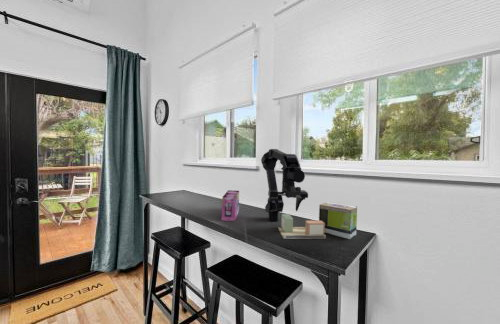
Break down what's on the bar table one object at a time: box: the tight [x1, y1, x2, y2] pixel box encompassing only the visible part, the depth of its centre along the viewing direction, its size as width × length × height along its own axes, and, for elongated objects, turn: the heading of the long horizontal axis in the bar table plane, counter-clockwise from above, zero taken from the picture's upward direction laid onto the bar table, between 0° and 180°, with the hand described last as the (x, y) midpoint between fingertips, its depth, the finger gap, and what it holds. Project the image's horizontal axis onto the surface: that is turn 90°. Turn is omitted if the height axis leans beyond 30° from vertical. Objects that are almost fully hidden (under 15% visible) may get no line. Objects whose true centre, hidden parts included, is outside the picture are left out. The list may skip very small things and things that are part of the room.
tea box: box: [318, 201, 358, 240], centre depth 107 cm, size 15×10×15 cm, turn 48°
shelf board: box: [277, 226, 327, 240], centre depth 106 cm, size 15×19×3 cm
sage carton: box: [280, 213, 294, 232], centre depth 109 cm, size 4×8×6 cm, turn 4°
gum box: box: [221, 190, 240, 222], centre depth 136 cm, size 24×8×14 cm, turn 177°
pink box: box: [304, 220, 325, 235], centre depth 102 cm, size 4×8×6 cm, turn 94°
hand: (287, 211), depth 109 cm, fingers open, 9 cm apart
